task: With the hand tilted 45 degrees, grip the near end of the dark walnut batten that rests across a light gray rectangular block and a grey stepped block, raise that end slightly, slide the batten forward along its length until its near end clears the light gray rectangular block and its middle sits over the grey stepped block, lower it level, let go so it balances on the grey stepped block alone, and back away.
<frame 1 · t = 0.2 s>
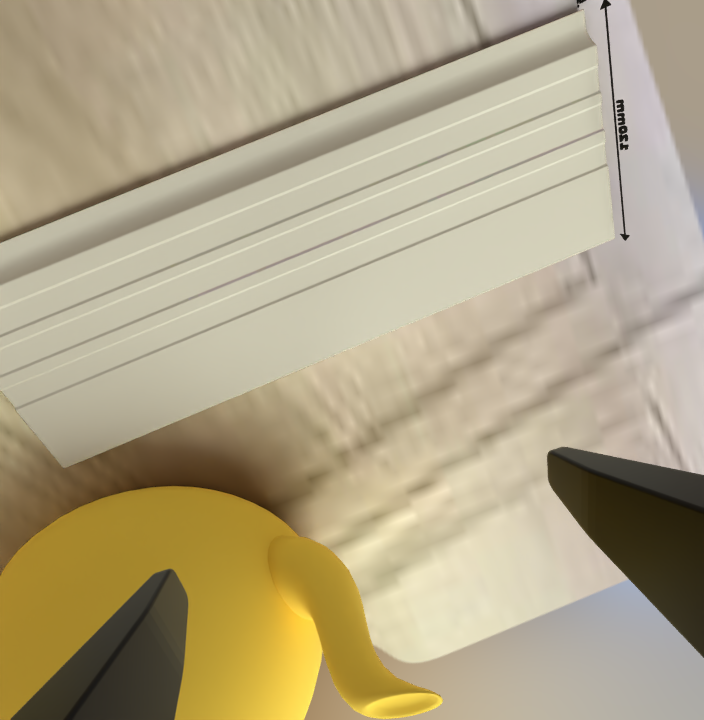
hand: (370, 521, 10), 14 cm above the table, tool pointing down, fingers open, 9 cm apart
baseboard molding: (297, 236, 22), on the table
teapot: (192, 571, 28), on the table
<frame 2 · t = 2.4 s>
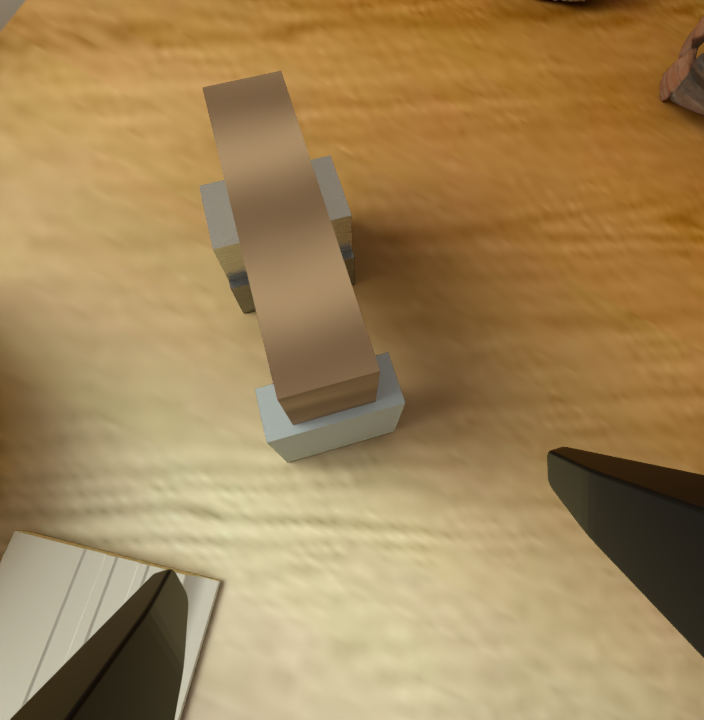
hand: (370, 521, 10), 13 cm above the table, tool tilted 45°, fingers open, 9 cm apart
light gray rectangular block: (335, 425, 25), on the table
batten: (292, 265, 22), point 6 cm above the table, touching light gray rectangular block, grey stepped block
grey stepped block: (290, 265, 29), on the table
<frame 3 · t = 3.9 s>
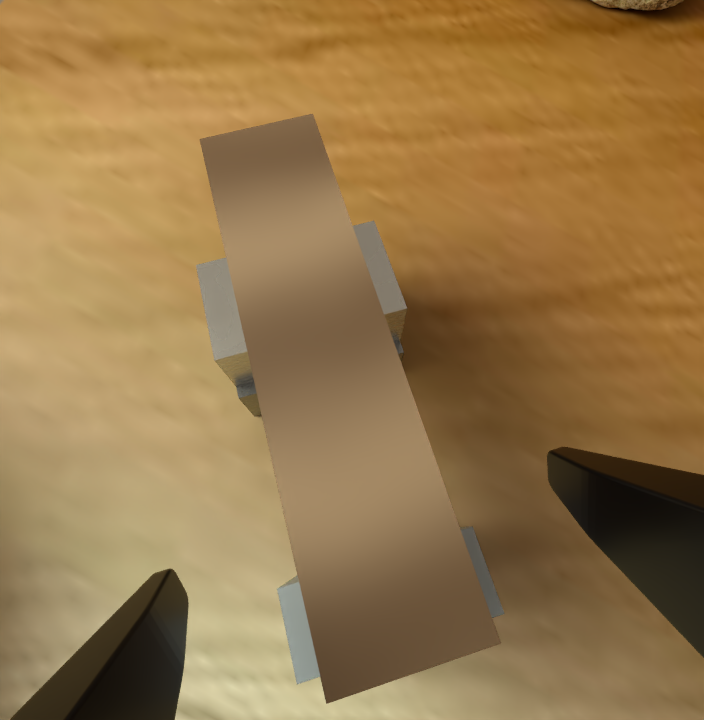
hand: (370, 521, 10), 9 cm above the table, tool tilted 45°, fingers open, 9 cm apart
light gray rectangular block: (380, 581, 18), on the table
batten: (327, 385, 15), point 6 cm above the table, touching light gray rectangular block, grey stepped block
grey stepped block: (314, 349, 22), on the table
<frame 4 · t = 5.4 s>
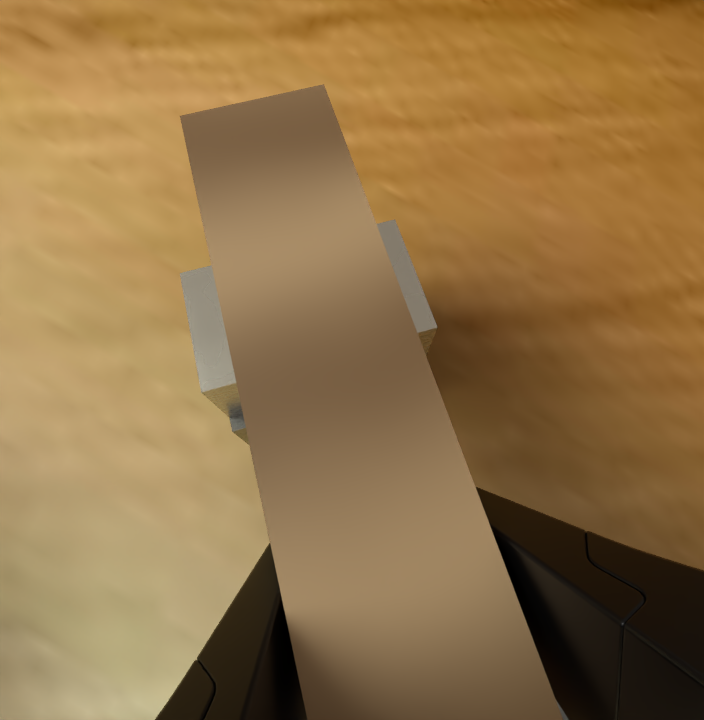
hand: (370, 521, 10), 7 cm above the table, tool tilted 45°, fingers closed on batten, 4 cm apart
batten: (341, 424, 12), point 6 cm above the table, touching gripper, light gray rectangular block, grey stepped block
grey stepped block: (320, 367, 19), on the table
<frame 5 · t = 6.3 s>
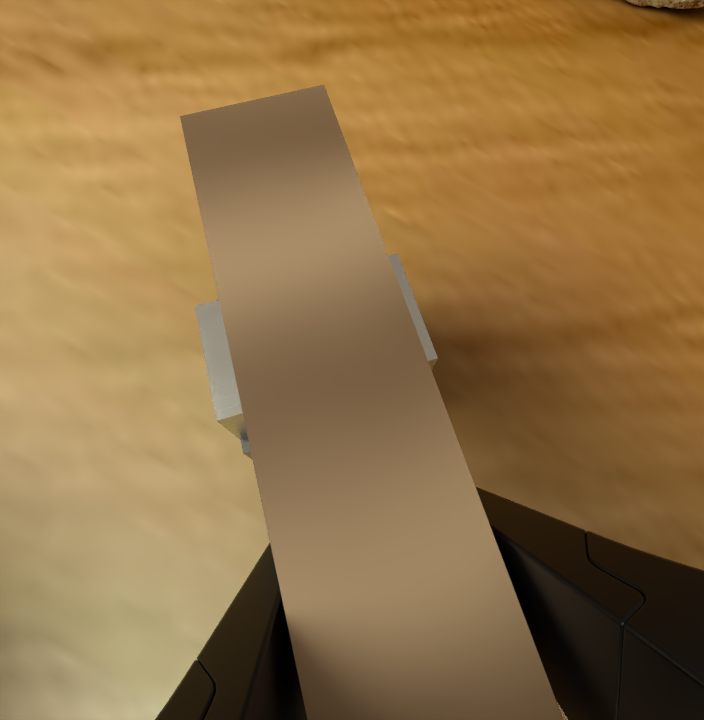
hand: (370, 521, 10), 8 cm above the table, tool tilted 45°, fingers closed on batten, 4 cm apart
batten: (341, 425, 12), point 7 cm above the table, touching gripper
grey stepped block: (325, 387, 20), on the table
when the fingers open (7 cm above the table, at t = 7.6 s): batten stays where it is, resting on grey stepped block.
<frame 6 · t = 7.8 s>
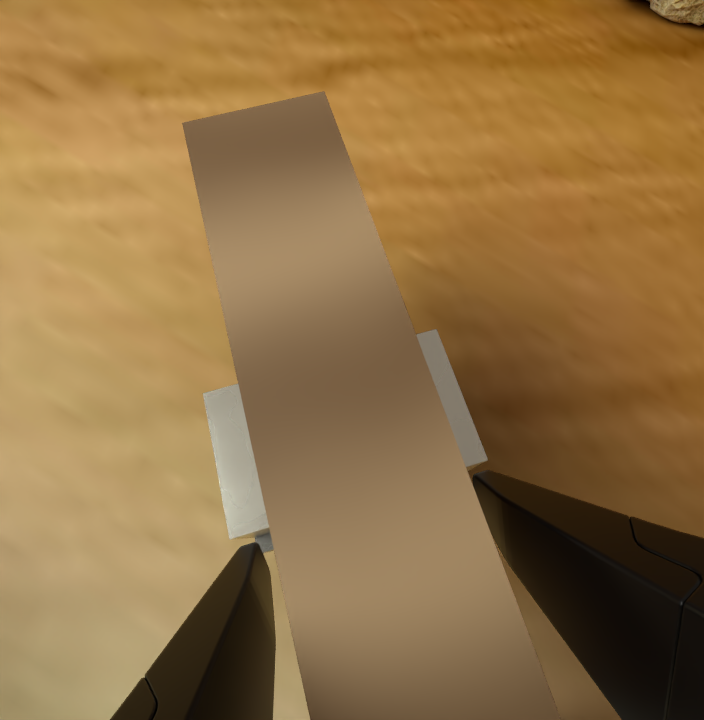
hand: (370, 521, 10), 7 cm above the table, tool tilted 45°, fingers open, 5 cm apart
batten: (342, 427, 12), point 6 cm above the table, touching grey stepped block
grey stepped block: (346, 458, 18), on the table
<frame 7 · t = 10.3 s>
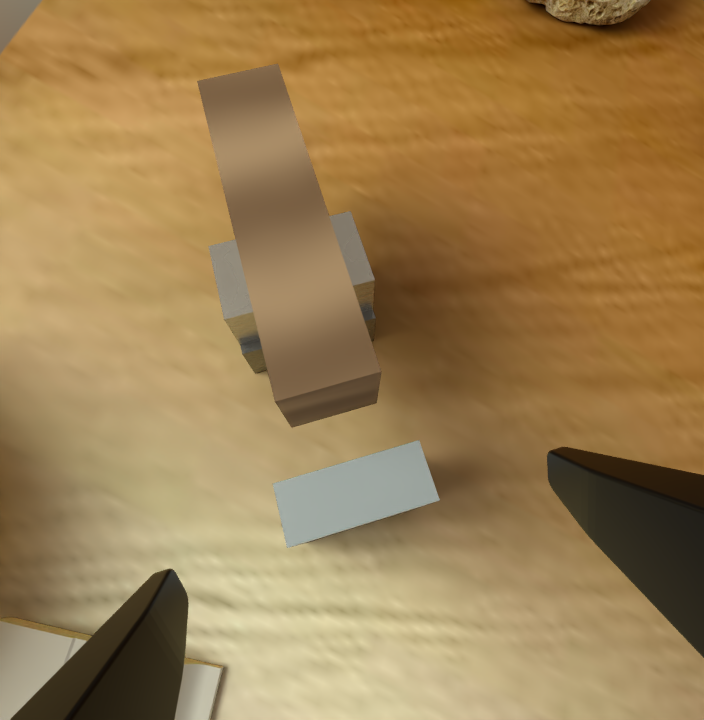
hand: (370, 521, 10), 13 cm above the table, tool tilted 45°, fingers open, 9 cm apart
light gray rectangular block: (355, 500, 23), on the table
batten: (290, 263, 21), point 6 cm above the table, touching grey stepped block
grey stepped block: (304, 318, 27), on the table
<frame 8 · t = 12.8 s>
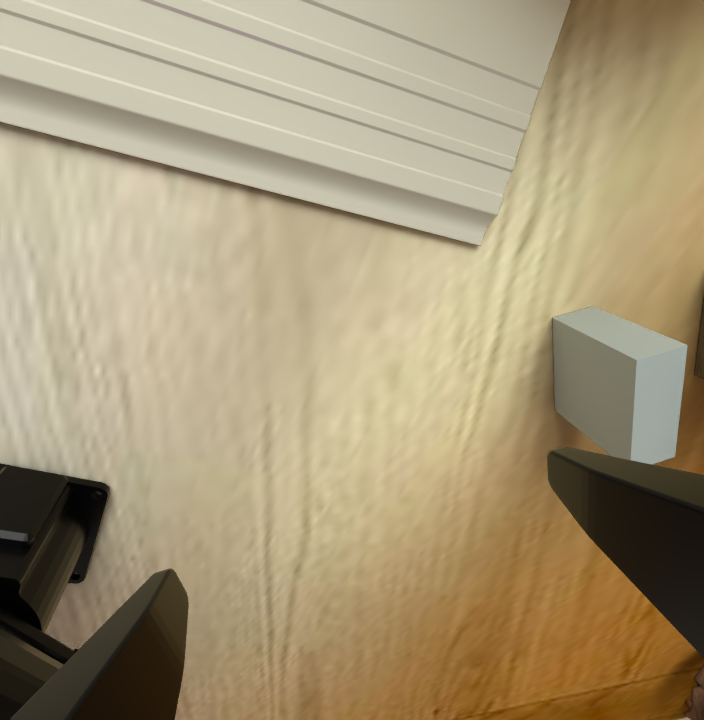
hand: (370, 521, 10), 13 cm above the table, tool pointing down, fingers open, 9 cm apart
light gray rectangular block: (573, 360, 26), on the table
baseboard molding: (150, 29, 17), on the table
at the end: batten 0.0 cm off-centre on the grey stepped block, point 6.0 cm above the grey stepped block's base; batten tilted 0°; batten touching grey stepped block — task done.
